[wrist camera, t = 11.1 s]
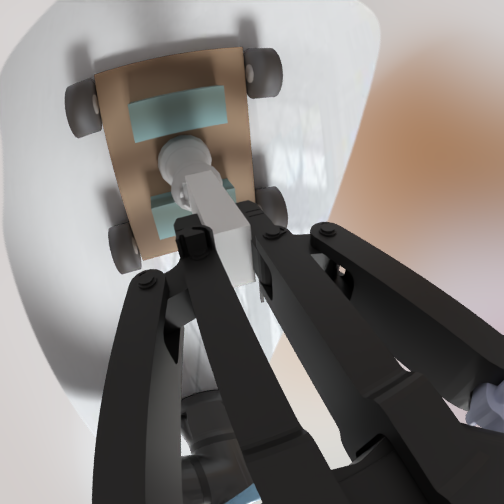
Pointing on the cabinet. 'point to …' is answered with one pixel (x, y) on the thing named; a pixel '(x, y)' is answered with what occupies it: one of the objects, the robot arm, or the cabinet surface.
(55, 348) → the cabinet surface
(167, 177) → the rook chess piece
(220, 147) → the chassis
